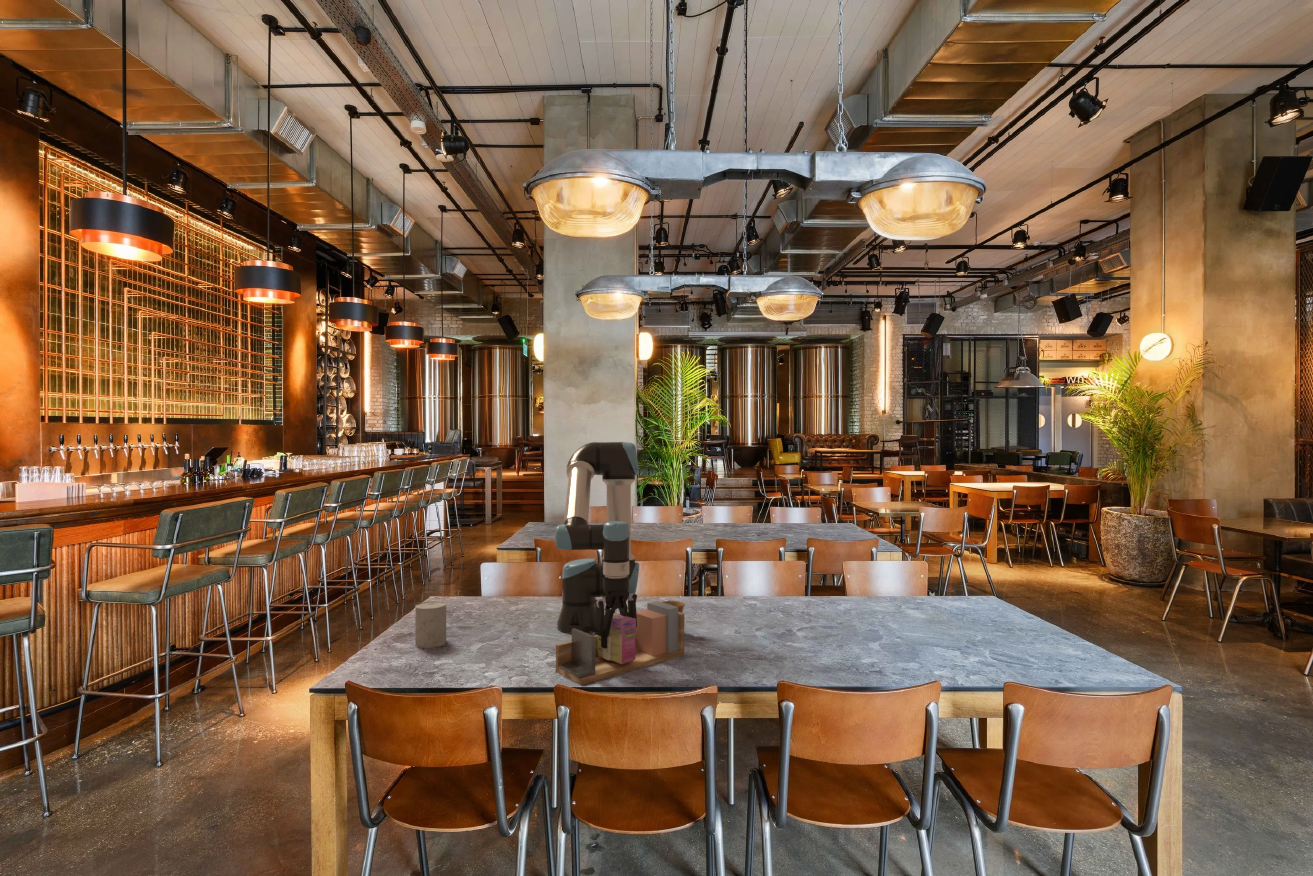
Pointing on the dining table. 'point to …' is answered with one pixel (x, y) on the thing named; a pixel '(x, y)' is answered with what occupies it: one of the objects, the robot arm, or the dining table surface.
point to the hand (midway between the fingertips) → (616, 656)
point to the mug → (677, 604)
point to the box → (621, 639)
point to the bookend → (581, 655)
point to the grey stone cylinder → (430, 624)
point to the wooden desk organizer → (611, 667)
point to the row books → (657, 629)
